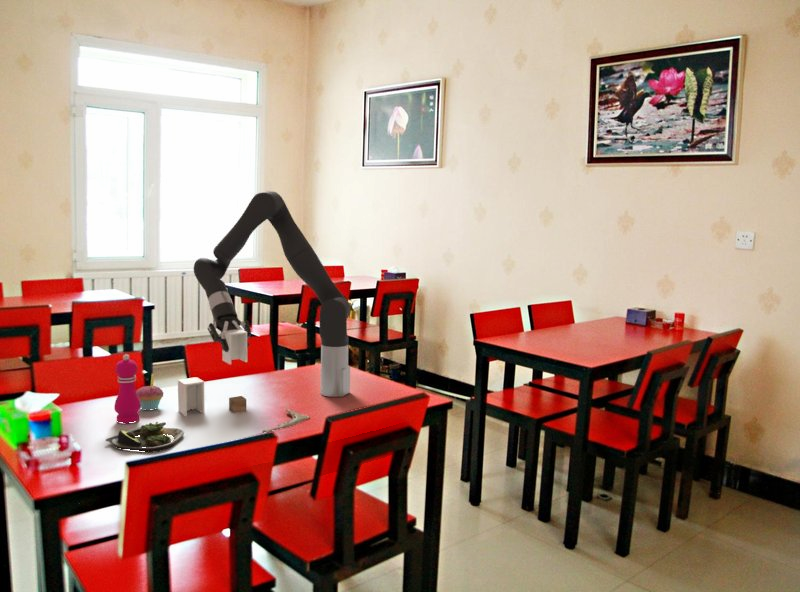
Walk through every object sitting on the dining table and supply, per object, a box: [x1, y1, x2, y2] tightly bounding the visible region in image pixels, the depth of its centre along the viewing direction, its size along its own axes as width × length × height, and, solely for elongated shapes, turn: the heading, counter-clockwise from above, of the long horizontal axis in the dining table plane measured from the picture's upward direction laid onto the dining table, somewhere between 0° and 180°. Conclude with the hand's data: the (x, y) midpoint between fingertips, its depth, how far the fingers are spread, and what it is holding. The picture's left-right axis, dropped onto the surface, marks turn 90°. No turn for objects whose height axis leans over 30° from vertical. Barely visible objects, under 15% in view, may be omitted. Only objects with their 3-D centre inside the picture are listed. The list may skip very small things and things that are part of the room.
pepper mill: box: [114, 354, 141, 423], centre depth 202 cm, size 7×7×20 cm
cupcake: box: [135, 372, 164, 410], centre depth 215 cm, size 9×8×12 cm
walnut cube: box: [228, 395, 247, 414], centre depth 216 cm, size 4×4×4 cm
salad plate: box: [105, 421, 185, 453], centre depth 189 cm, size 19×18×5 cm
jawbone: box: [262, 407, 311, 434], centre depth 205 cm, size 9×20×2 cm, turn 170°
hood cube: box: [221, 329, 248, 365], centre depth 225 cm, size 6×6×10 cm
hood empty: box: [177, 376, 205, 417], centre depth 212 cm, size 6×6×10 cm
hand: (237, 349), depth 224 cm, fingers closed on hood cube, 6 cm apart
